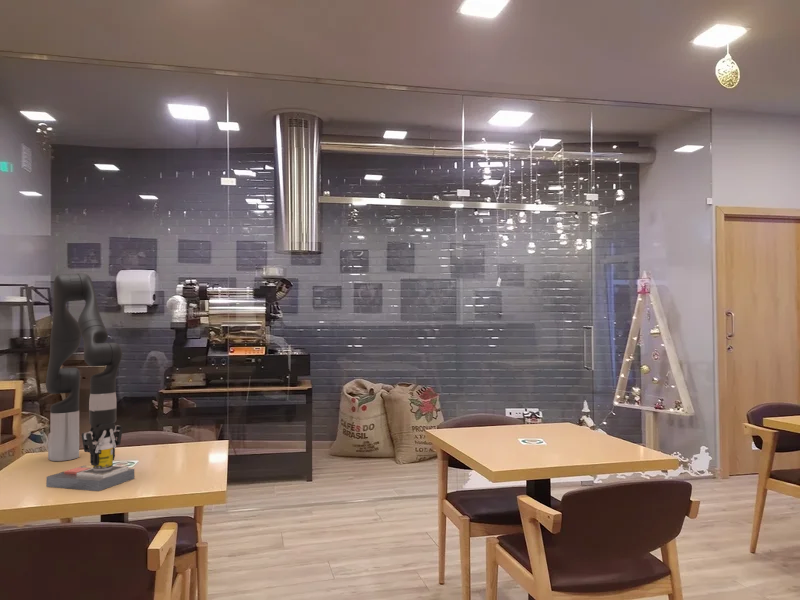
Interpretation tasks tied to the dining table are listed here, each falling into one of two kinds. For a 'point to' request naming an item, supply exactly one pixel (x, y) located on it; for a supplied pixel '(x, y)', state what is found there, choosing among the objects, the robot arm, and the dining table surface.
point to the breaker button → (75, 470)
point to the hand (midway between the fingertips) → (102, 462)
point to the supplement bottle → (105, 456)
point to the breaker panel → (91, 478)
